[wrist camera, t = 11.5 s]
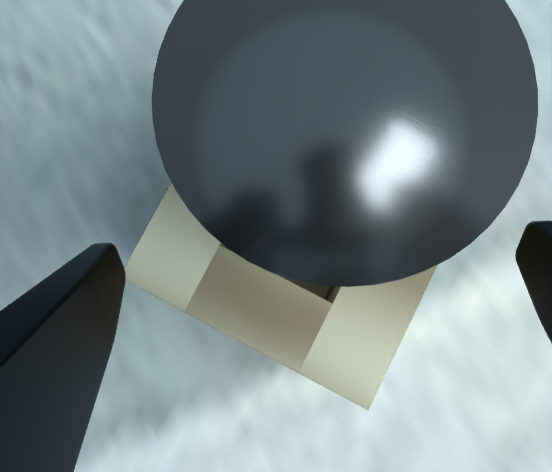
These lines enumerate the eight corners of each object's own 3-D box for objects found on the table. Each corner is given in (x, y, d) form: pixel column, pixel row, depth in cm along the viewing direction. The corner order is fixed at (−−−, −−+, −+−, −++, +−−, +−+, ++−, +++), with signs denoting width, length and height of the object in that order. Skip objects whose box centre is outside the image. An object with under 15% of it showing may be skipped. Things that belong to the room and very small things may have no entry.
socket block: (350, 381, 18) (368, 410, 14) (155, 277, 19) (119, 277, 15) (445, 184, 19) (487, 158, 15) (255, 92, 19) (246, 44, 15)
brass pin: (283, 300, 18) (275, 363, 4) (230, 211, 18) (86, 33, 5) (373, 246, 18) (617, 157, 5) (318, 159, 18) (401, -143, 5)
